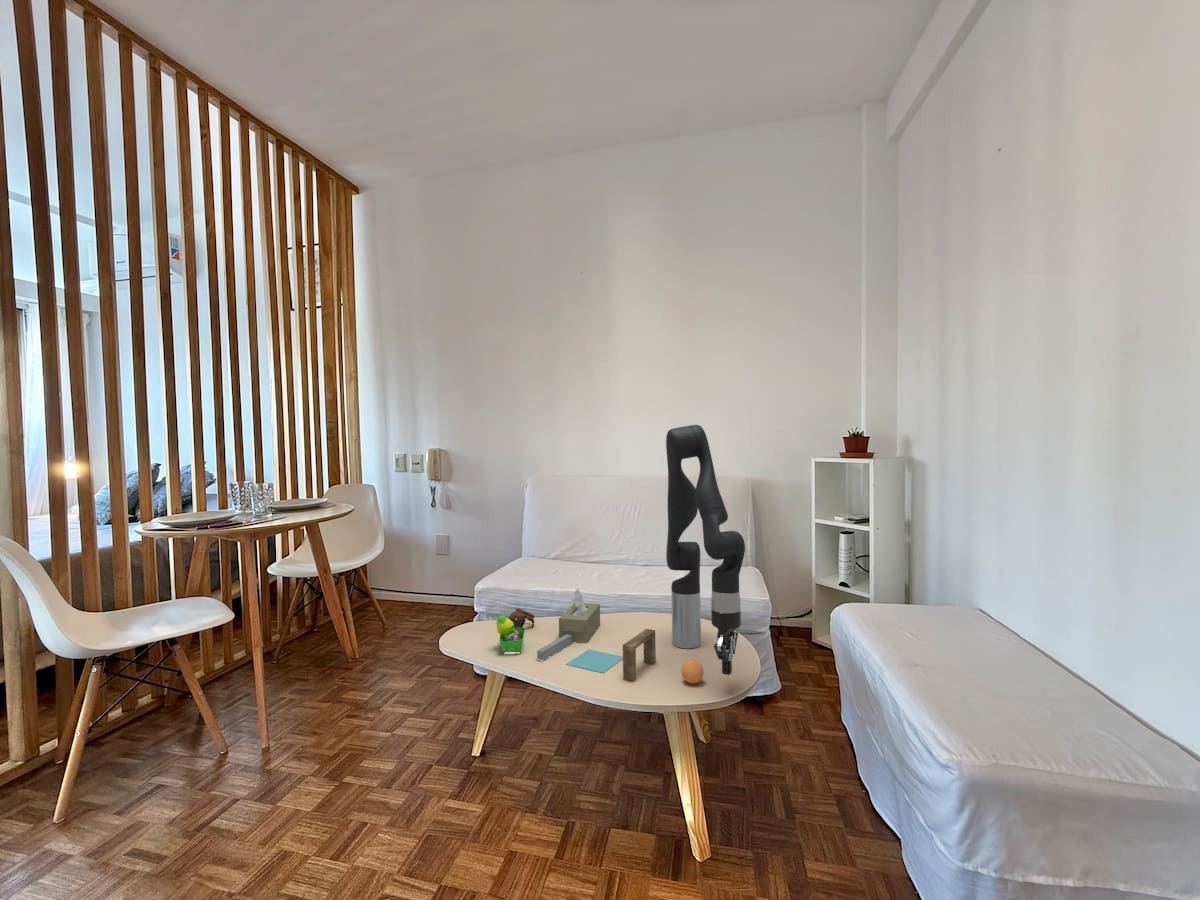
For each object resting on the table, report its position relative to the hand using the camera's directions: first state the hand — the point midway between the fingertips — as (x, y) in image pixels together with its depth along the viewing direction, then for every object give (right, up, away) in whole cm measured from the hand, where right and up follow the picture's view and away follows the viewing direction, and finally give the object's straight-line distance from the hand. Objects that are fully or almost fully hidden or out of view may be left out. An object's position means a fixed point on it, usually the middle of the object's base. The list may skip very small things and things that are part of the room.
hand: (727, 673), depth 141 cm
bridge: (-22, -5, +14) cm, 26 cm away
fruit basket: (-62, -6, +32) cm, 70 cm away
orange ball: (-8, -2, +6) cm, 10 cm away
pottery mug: (-62, -6, +51) cm, 80 cm away
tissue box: (-40, -6, +46) cm, 61 cm away
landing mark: (-35, -5, +21) cm, 41 cm away
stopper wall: (-48, -5, +29) cm, 56 cm away
